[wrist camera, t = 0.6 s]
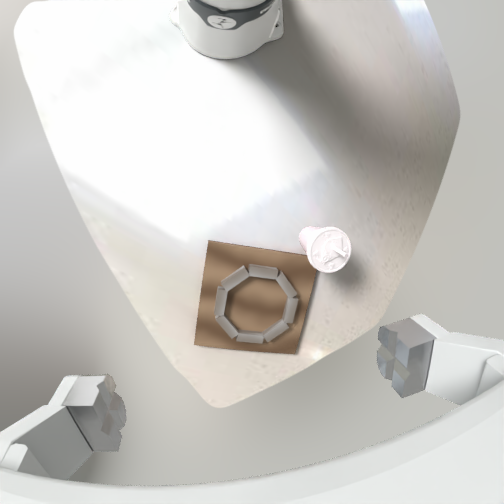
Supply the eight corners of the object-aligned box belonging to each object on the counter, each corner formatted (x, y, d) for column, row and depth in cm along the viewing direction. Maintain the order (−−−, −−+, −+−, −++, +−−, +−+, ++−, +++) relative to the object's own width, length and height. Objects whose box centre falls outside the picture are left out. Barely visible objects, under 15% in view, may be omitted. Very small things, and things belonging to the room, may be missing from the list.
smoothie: (335, 233, 52) (375, 253, 38) (312, 263, 53) (345, 293, 39) (306, 209, 50) (341, 223, 37) (282, 241, 51) (308, 266, 38)
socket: (208, 240, 49) (208, 244, 47) (316, 256, 52) (322, 261, 50) (194, 341, 53) (193, 349, 51) (293, 350, 56) (297, 358, 54)
